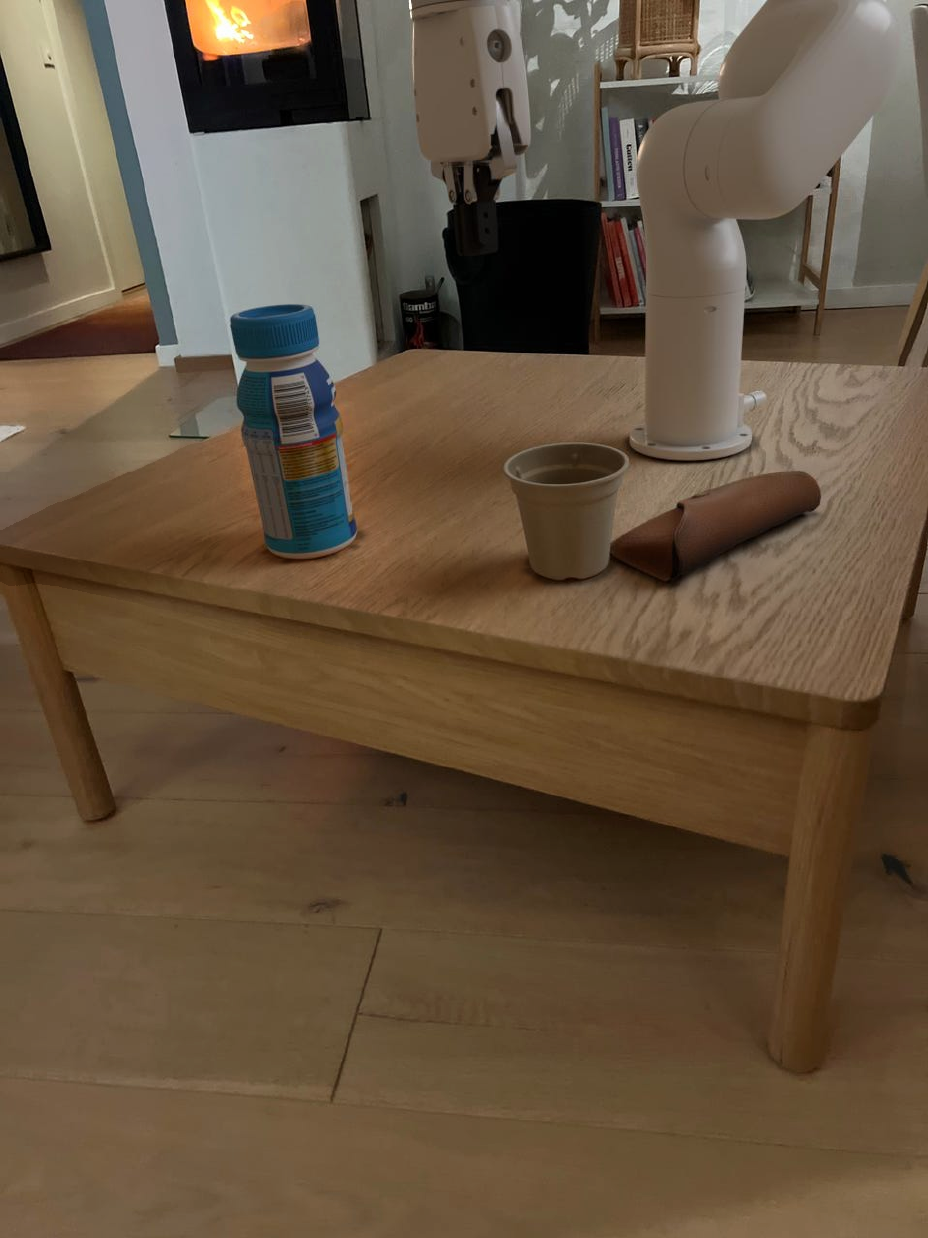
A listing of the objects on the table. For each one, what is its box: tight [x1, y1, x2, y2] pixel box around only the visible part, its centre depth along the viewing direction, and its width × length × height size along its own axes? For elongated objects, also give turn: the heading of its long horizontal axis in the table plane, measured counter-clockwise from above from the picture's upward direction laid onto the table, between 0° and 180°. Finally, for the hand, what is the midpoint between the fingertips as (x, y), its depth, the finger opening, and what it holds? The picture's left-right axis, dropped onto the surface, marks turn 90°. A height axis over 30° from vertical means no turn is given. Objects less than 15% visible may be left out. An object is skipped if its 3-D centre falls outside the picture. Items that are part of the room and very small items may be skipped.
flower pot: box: [502, 441, 630, 581], centre depth 70 cm, size 9×9×9 cm
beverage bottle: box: [229, 303, 358, 560], centre depth 76 cm, size 8×8×20 cm
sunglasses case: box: [609, 470, 822, 583], centre depth 74 cm, size 18×7×7 cm
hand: (478, 253), depth 76 cm, fingers closed
